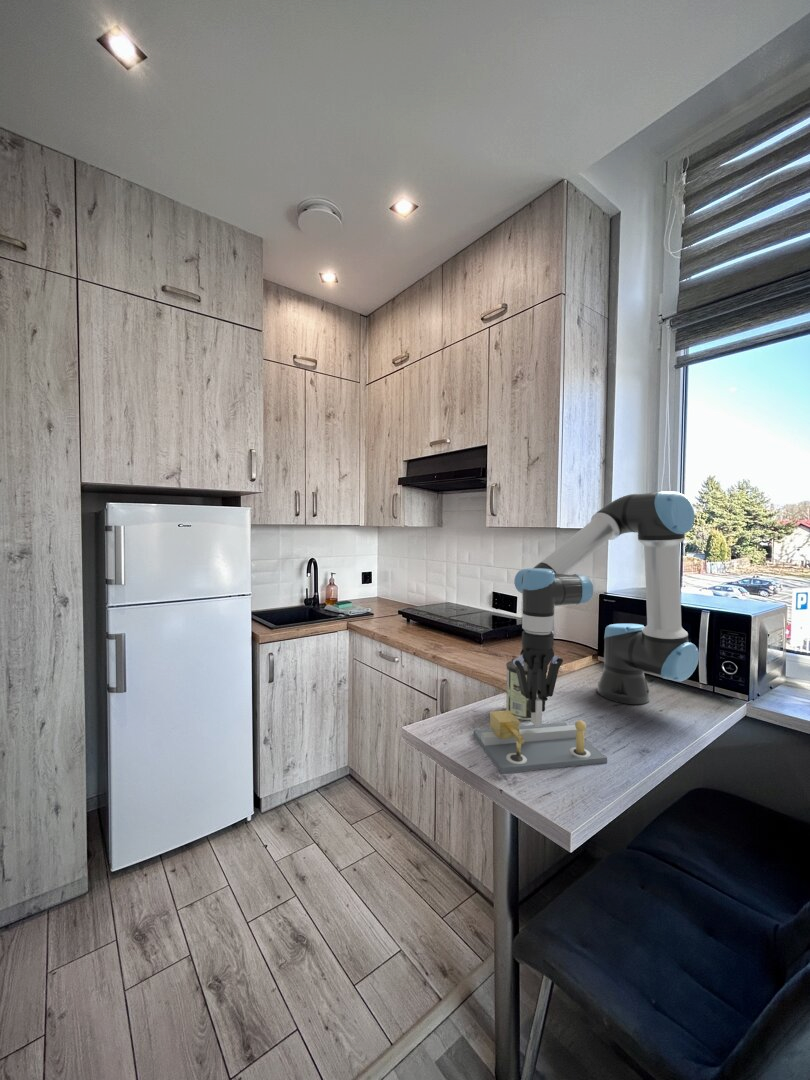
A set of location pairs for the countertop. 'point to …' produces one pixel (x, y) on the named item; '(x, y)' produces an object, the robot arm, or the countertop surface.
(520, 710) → the coffee can
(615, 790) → the countertop surface
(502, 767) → the gauge board
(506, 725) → the pointer
